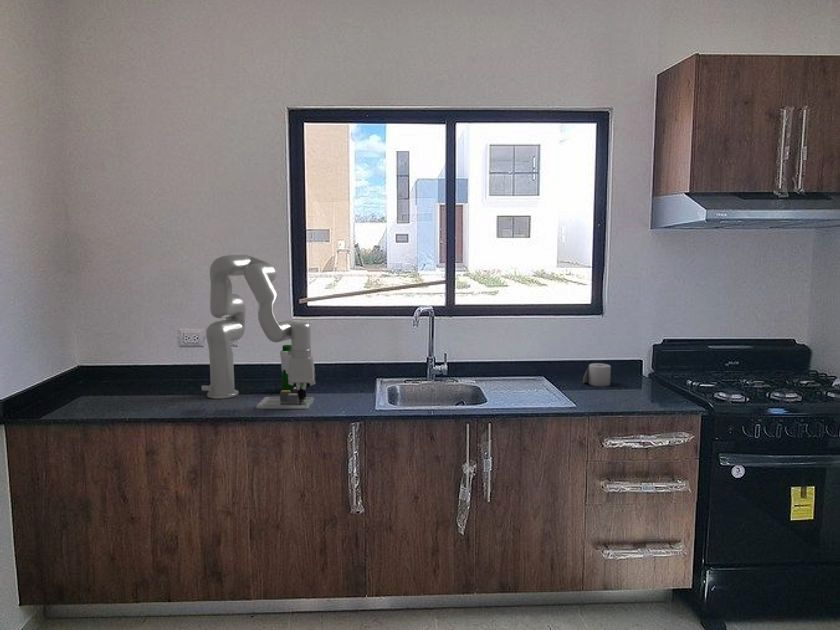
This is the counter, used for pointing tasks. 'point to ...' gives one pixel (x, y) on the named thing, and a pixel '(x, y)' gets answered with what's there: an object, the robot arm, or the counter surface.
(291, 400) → the breaker front
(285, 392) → the block
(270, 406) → the panel
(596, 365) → the toilet tissue
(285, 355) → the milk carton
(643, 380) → the counter surface
